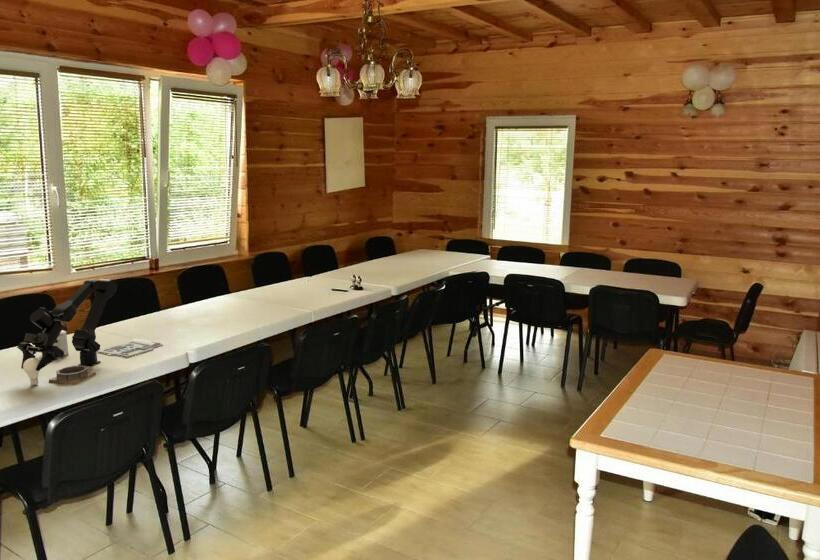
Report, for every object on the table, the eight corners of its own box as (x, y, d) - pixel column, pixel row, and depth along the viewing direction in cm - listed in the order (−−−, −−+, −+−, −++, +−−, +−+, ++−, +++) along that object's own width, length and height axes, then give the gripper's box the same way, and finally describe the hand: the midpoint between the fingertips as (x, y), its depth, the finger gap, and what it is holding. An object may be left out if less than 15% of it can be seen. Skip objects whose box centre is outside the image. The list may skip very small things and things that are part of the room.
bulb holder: (70, 372, 267) (70, 364, 266) (96, 374, 264) (95, 366, 264) (48, 382, 255) (47, 373, 255) (75, 384, 253) (74, 375, 252)
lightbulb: (35, 388, 249) (32, 361, 247) (21, 387, 250) (17, 360, 248) (47, 382, 255) (44, 356, 253) (33, 381, 256) (30, 355, 254)
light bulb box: (44, 353, 294) (42, 330, 292) (60, 350, 299) (58, 327, 297) (53, 358, 287) (50, 334, 285) (69, 354, 291) (66, 331, 289)
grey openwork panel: (139, 336, 314) (167, 341, 304) (139, 341, 314) (168, 347, 305) (96, 348, 294) (124, 354, 284) (96, 353, 295) (125, 359, 285)
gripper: (18, 322, 255) (-4, 357, 246) (54, 326, 249) (33, 362, 240) (37, 336, 263) (17, 370, 255) (73, 340, 257) (53, 375, 249)
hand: (29, 369), depth 250 cm, fingers open, 7 cm apart
